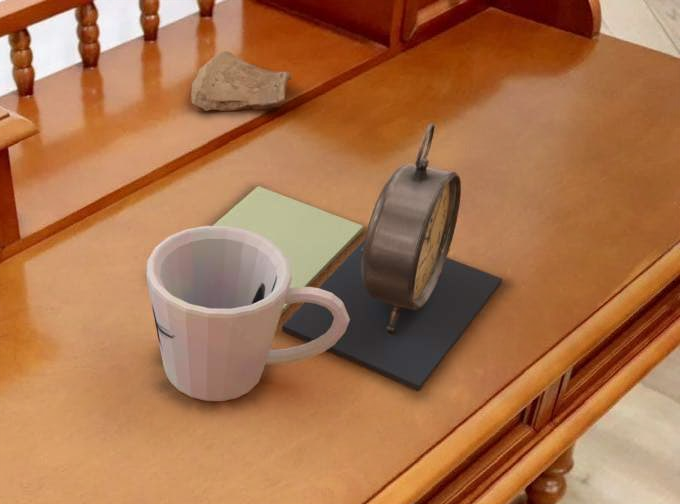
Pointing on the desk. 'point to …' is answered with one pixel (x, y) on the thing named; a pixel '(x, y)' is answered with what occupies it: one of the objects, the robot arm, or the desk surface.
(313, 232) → the sage mat
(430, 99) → the desk surface
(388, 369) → the slate mat
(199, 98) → the pottery shard
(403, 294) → the alarm clock
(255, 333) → the mug
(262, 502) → the desk surface
